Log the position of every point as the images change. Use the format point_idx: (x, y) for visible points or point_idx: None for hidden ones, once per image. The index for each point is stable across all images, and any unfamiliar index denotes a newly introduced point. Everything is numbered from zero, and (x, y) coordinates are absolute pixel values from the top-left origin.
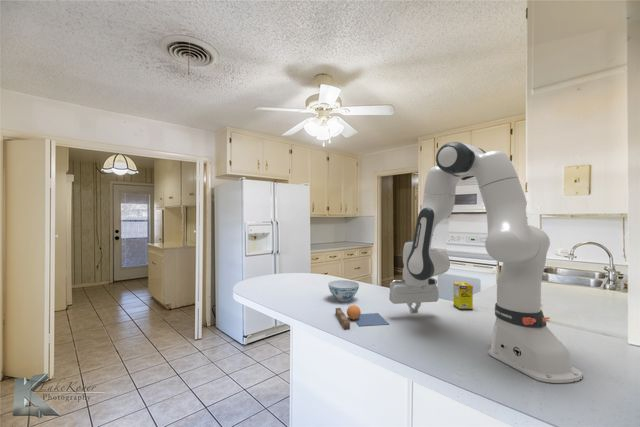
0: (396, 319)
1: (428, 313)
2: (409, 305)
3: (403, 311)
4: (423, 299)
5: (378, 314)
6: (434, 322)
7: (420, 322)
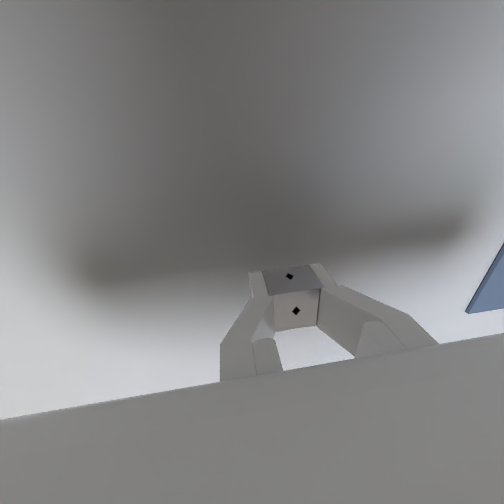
0: (436, 214)
1: (124, 328)
2: (405, 317)
3: (295, 347)
4: (155, 479)
5: (487, 293)
6: (109, 109)
7: (274, 125)
